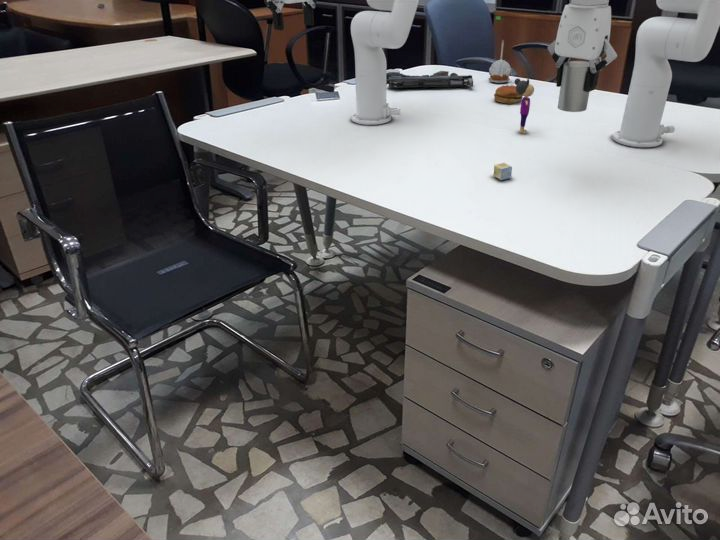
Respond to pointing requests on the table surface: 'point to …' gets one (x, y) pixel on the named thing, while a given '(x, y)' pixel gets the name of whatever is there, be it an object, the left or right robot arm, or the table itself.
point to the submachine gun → (428, 80)
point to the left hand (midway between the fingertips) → (294, 27)
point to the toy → (524, 100)
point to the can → (574, 87)
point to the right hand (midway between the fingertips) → (575, 87)
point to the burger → (507, 94)
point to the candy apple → (500, 70)
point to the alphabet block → (502, 171)
